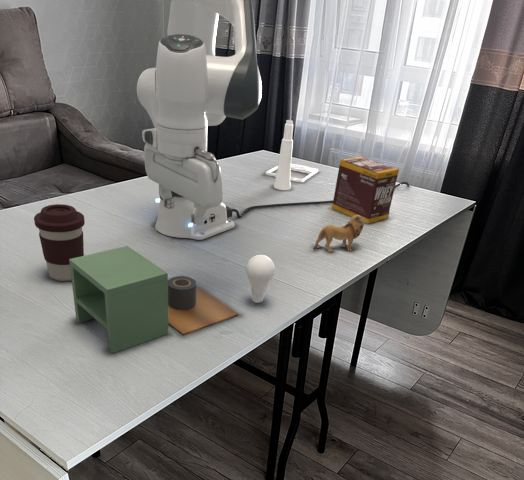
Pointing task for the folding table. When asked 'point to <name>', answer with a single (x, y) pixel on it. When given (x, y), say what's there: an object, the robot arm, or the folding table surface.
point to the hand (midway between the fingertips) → (182, 215)
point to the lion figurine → (342, 233)
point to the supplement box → (364, 188)
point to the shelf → (121, 295)
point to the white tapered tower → (285, 159)
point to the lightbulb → (259, 275)
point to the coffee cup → (60, 238)
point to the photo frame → (297, 168)
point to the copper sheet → (199, 314)
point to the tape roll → (182, 293)
